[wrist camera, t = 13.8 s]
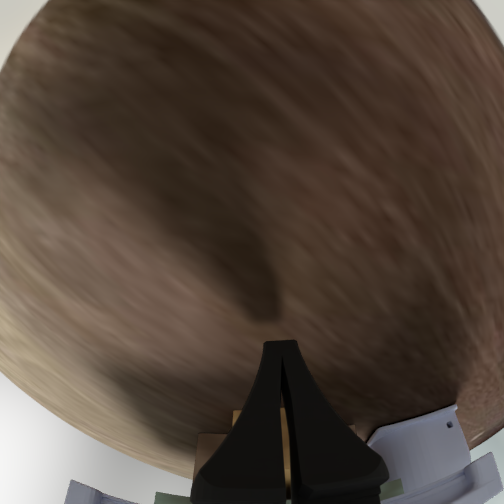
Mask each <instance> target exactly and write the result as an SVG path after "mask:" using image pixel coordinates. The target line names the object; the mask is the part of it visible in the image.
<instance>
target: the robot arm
mask: <svg viewBox="0 0 504 504" xmlns="http://www.w3.org/2000/svg"><path fill="white" fill-rule="evenodd" d="M281 390H282V396H283V402H284V409H285V415H286V421H287V427H288V435H289V451H290V477H291V504H484V503H485V502H487V501H488V500H489V499H491V498H493V497H494V496H495V495H497V494H498V493H500V492H501V491H502V490H503V485H502V482H501V478H500V475H499V472H498V469H497V465H496V463H495V460H494V456H493V453H492V452H489V453H487V454H486V455H484V456H482V457H480V458H479V459H477V460H475V461H473V462H472V463H471V456H470V451H469V448H468V445H467V443H466V440H465V437H464V434H463V432H462V429H461V427H460V424H459V421H458V419H457V416H456V414H455V412H454V411H455V410H456V409H457V405H456V404H455V405H452V406H449V407H447V408H444V409H441V410H438V411H435V412H433V413H430V414H427V415H423V416H420V417H417V418H414V419H410V420H407V421H403V422H400V423H396V424H392V425H388V426H384V427H380V428H378V429H377V430H376V431H375V432H374V434H373V435H372V437H371V438H370V439H369V441H368V442H367V444H366V443H365V442H364V441H363V440H362V439H360V438H359V437H358V436H357V435H356V434H355V433H354V432H353V431H352V429H351V428H350V427H349V426H348V425H347V424H346V423H345V422H344V421H343V420H342V419H341V417H340V416H339V415H338V414H337V413H336V411H335V410H334V409H333V407H332V406H331V405H330V403H329V402H328V401H327V399H326V398H325V396H324V395H323V393H322V392H321V390H320V389H319V387H318V385H317V384H316V382H315V380H314V379H313V377H312V375H311V373H310V371H309V370H308V368H307V366H306V364H305V361H304V359H303V357H302V355H301V352H300V350H299V347H298V344H297V341H296V340H281V341H266V342H265V343H264V345H263V354H262V359H261V363H260V366H259V370H258V373H257V376H256V379H255V382H254V385H253V387H252V389H251V392H250V394H249V396H248V399H247V401H246V403H245V405H244V407H243V409H242V411H241V413H240V415H239V417H238V418H237V420H236V422H235V423H234V425H233V427H232V428H231V430H230V432H229V433H228V435H227V436H226V437H225V439H224V440H223V442H222V443H221V444H220V446H219V447H218V448H217V450H216V451H215V452H214V454H213V455H212V456H211V457H210V458H209V459H208V461H207V462H206V463H205V464H204V465H203V466H202V467H201V468H200V470H199V471H198V473H197V475H196V477H195V480H194V482H193V485H192V488H191V495H190V502H191V503H192V504H286V483H285V469H284V455H283V441H282V426H281V411H280V407H281ZM400 478H401V481H402V485H403V490H404V494H401V495H398V496H395V497H392V498H388V499H385V500H382V501H380V497H379V494H381V489H380V486H381V485H382V484H384V483H386V482H390V481H393V480H397V479H400ZM64 504H138V503H134V502H130V501H127V500H123V499H120V498H116V497H113V496H110V495H107V494H104V493H102V492H100V491H99V490H97V489H94V488H92V487H89V486H87V485H84V484H82V483H79V482H77V481H74V480H71V481H70V484H69V488H68V491H67V495H66V499H65V503H64Z"/></svg>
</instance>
